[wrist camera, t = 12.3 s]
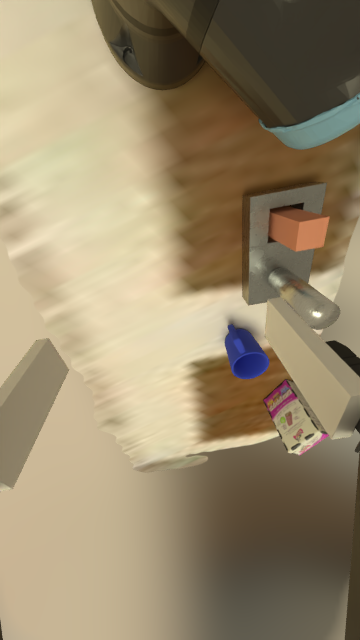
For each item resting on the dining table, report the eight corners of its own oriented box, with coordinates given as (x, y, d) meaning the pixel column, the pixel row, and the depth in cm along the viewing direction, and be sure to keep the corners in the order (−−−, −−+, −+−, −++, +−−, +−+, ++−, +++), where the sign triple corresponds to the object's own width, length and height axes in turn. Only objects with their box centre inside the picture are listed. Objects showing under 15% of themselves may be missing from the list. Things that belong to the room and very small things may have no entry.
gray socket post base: (242, 195, 37) (296, 208, 23) (312, 182, 37) (414, 186, 22) (242, 296, 49) (278, 350, 34) (295, 287, 48) (356, 337, 33)
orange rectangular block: (264, 210, 39) (299, 222, 29) (286, 206, 39) (329, 216, 29) (263, 233, 41) (295, 251, 31) (284, 229, 41) (323, 246, 31)
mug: (241, 307, 50) (257, 333, 42) (257, 341, 56) (273, 370, 48) (209, 323, 52) (218, 351, 44) (228, 354, 58) (239, 384, 50)
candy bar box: (273, 403, 72) (300, 456, 59) (262, 399, 71) (286, 453, 57) (297, 382, 67) (332, 435, 53) (285, 378, 66) (318, 431, 52)
